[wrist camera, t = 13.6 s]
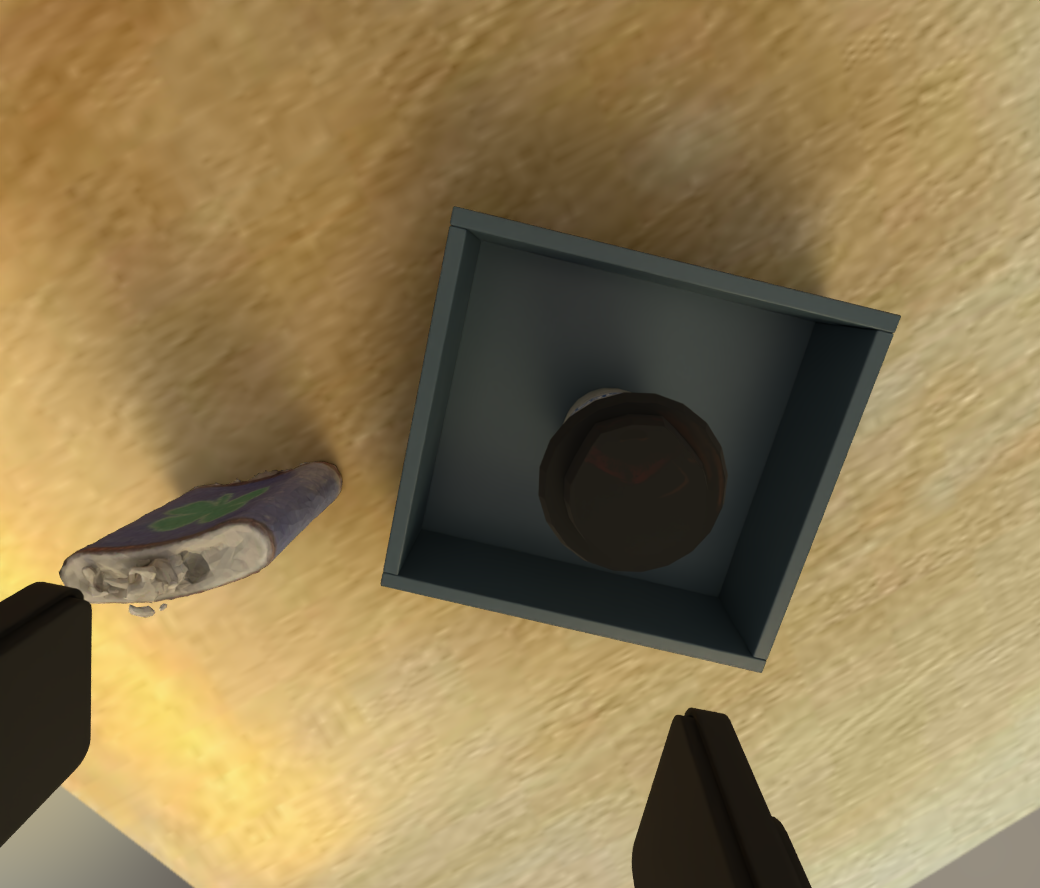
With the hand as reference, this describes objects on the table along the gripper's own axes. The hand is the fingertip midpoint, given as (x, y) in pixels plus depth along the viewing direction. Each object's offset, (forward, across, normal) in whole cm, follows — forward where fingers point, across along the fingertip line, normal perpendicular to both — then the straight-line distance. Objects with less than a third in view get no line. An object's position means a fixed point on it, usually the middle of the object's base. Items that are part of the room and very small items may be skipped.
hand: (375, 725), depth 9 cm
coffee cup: (+22, -6, -1) cm, 23 cm away
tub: (+22, -6, -1) cm, 23 cm away
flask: (+22, +11, +7) cm, 26 cm away
